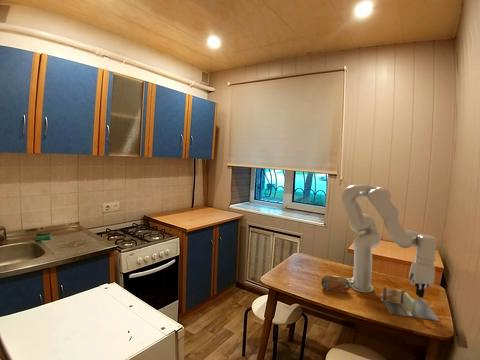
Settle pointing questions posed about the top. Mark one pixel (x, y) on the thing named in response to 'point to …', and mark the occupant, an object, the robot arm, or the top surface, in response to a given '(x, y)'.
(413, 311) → the bar
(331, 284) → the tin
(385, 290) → the base
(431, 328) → the top surface
